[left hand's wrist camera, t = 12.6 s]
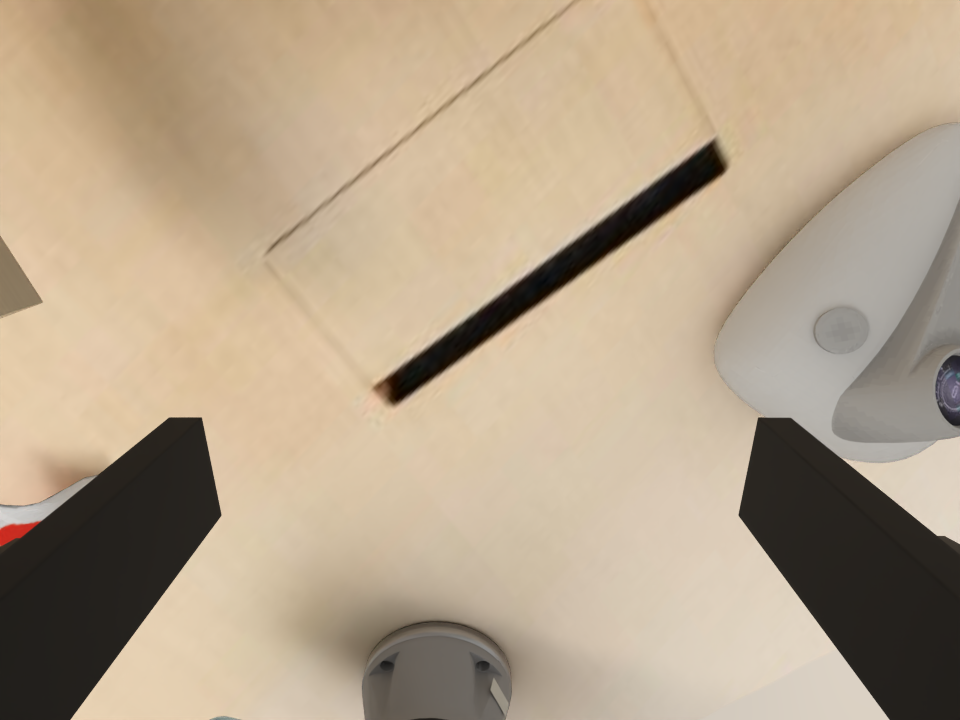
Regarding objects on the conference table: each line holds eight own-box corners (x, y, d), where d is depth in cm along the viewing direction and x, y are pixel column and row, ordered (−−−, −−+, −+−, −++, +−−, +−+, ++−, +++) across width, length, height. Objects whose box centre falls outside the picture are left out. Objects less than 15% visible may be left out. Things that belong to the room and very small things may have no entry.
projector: (991, 383, 44) (1223, 482, 30) (716, 455, 46) (815, 578, 33) (996, 102, 37) (1306, 64, 23) (670, 205, 39) (773, 227, 25)
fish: (-114, 538, 44) (-163, 630, 36) (65, 419, 47) (54, 480, 40) (5, 595, 50) (-16, 684, 42) (154, 487, 54) (160, 550, 46)
